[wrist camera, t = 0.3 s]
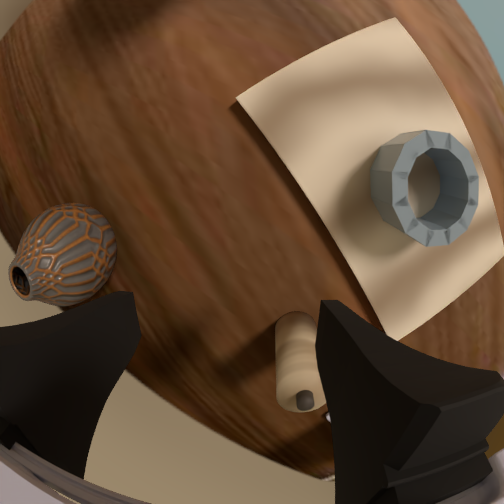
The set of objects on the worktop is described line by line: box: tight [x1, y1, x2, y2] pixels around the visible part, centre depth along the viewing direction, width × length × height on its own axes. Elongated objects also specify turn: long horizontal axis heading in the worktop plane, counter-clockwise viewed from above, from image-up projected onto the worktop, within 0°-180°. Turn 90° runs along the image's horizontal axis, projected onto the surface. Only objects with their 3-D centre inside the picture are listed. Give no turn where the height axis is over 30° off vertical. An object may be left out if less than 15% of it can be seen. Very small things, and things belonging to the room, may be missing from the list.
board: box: [236, 17, 504, 341], centre depth 17 cm, size 22×14×1 cm, turn 35°
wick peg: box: [275, 311, 326, 412], centre depth 17 cm, size 3×3×8 cm
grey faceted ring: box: [370, 130, 479, 247], centre depth 15 cm, size 7×7×4 cm
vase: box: [9, 203, 117, 306], centre depth 16 cm, size 7×7×9 cm
